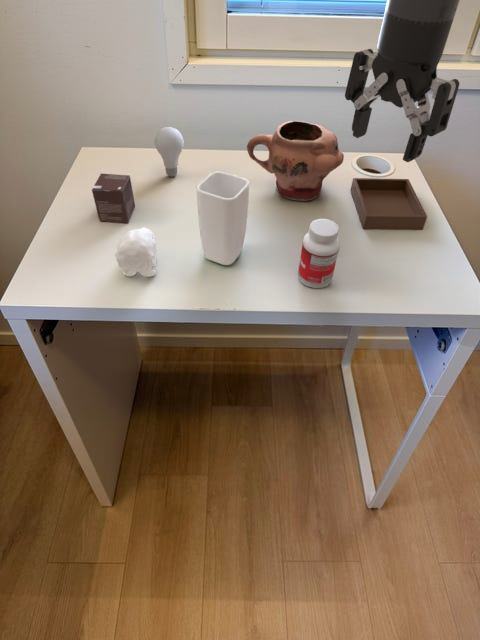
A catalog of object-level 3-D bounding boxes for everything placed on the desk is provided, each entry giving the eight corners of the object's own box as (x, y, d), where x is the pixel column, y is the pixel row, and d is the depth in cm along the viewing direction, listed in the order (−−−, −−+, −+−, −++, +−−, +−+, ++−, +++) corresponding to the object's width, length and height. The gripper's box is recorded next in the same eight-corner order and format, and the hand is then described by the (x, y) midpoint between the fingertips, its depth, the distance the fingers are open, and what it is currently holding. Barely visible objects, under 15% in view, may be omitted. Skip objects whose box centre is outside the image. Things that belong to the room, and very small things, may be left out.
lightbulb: (180, 185, 103) (177, 136, 95) (154, 180, 104) (148, 132, 96) (189, 171, 107) (186, 124, 99) (163, 167, 108) (159, 120, 100)
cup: (215, 239, 90) (214, 168, 79) (249, 251, 88) (253, 180, 77) (196, 260, 86) (192, 188, 75) (230, 273, 84) (232, 201, 73)
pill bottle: (300, 263, 86) (308, 213, 78) (333, 269, 85) (345, 219, 77) (295, 286, 82) (303, 235, 74) (329, 292, 81) (341, 241, 73)
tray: (422, 229, 94) (427, 217, 92) (362, 229, 94) (366, 216, 92) (404, 191, 104) (408, 178, 102) (350, 190, 103) (353, 177, 101)
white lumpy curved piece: (110, 243, 74) (124, 206, 83) (118, 285, 80) (130, 247, 89) (150, 244, 75) (159, 207, 83) (155, 286, 80) (163, 248, 89)
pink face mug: (243, 203, 99) (246, 140, 89) (246, 173, 107) (249, 112, 97) (338, 209, 98) (351, 146, 88) (333, 178, 107) (345, 118, 96)
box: (136, 207, 97) (131, 175, 91) (128, 224, 93) (122, 191, 87) (107, 204, 97) (100, 172, 92) (98, 221, 93) (90, 189, 88)
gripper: (496, 19, 50) (443, 160, 62) (389, -10, 57) (360, 121, 69) (458, 31, 46) (409, 178, 58) (349, -1, 54) (325, 135, 66)
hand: (383, 147), depth 64 cm, fingers open, 8 cm apart
